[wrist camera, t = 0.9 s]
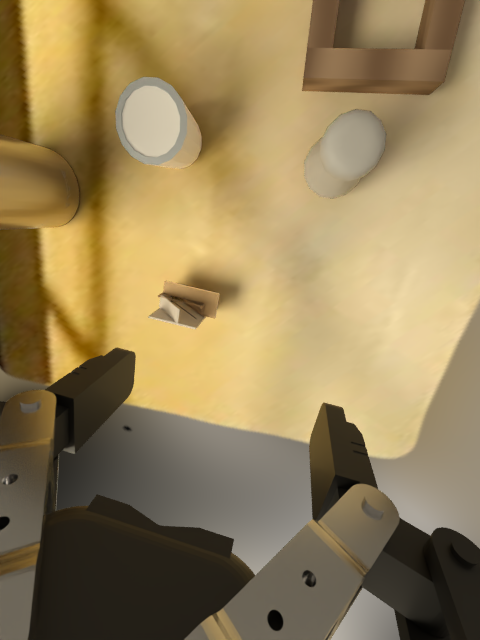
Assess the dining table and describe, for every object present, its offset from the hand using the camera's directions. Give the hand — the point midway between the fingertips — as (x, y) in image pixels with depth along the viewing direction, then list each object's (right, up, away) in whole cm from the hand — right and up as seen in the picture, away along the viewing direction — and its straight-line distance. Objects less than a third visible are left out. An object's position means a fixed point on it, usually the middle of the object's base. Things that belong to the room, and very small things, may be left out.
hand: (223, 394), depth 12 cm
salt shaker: (+10, +19, +20) cm, 29 cm away
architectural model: (-6, +6, +27) cm, 29 cm away
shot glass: (-6, +23, +21) cm, 32 cm away
